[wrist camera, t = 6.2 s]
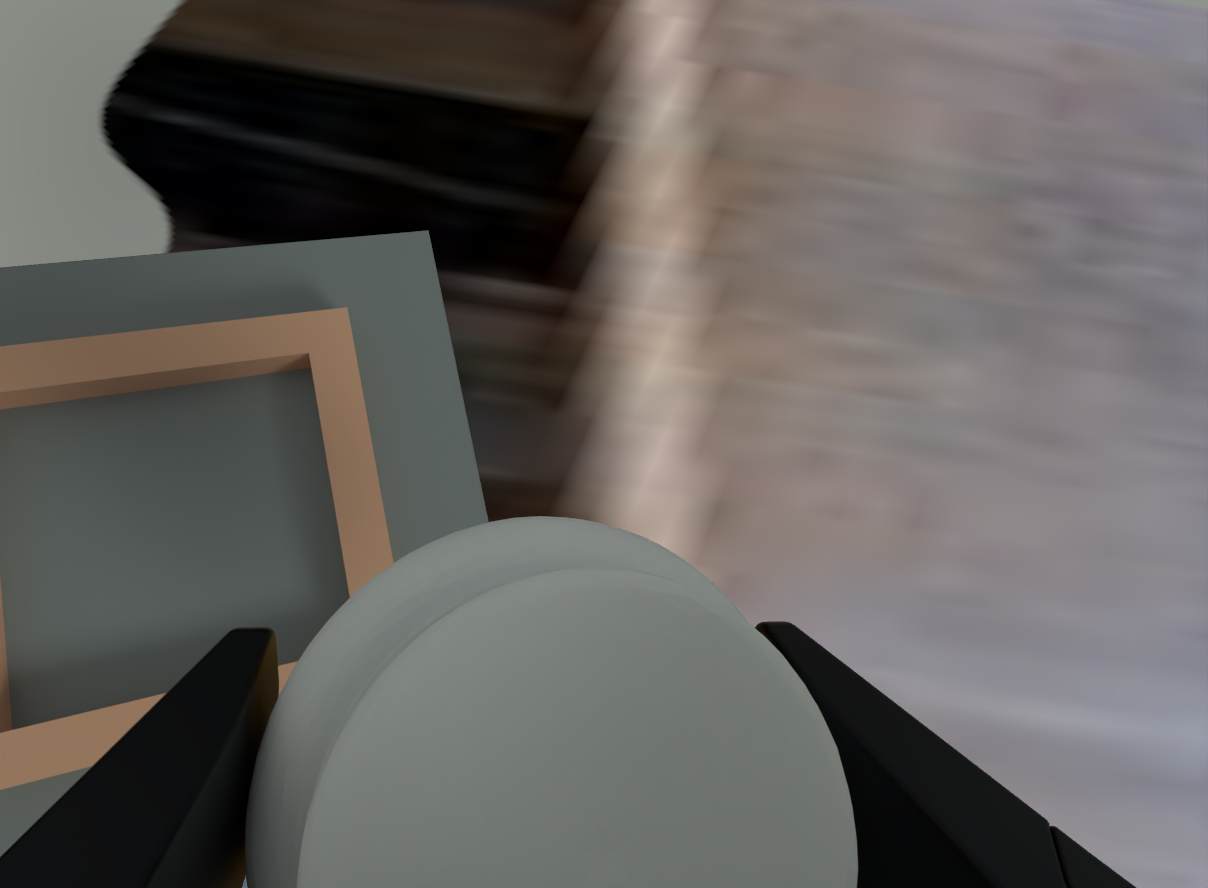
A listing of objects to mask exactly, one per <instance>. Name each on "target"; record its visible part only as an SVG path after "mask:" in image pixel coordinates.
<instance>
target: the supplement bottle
mask: <svg viewBox="0 0 1208 888" xmlns="http://www.w3.org/2000/svg"><path fill="white" fill-rule="evenodd" d="M245 861H246V880H247V887H248V888H857V877H858V855H857V837H856V830H855V823H854V815H853V808H852V803H851V798H850V793H849V788H848V785H847V781H846V778H845V774H844V770H843V767H842V763H841V759H840V756H839V752H838V749H837V746H836V744H835V742H834V739H833V737H832V735H831V733H830V731H829V728H828V726H827V724H826V722H825V720H824V718H823V716H822V714H821V712H820V710H819V708H818V706H817V704H816V703H815V701H814V700H813V698H812V696H811V694H810V693H809V691H808V689H807V688H806V686H805V684H804V683H803V682H802V680H801V679H800V678H799V676H798V675H797V673H796V672H795V671H794V669H793V668H792V667H791V665H790V664H789V663H788V661H787V660H786V659H785V657H784V656H783V655H782V654H781V653H780V652H779V651H778V650H777V649H776V647H775V646H774V645H773V644H772V643H771V642H770V641H769V640H768V639H767V638H766V637H765V636H764V635H762V634H761V633H760V632H759V631H758V630H756V629H755V628H754V627H753V626H752V625H750V624H749V623H748V621H747V620H746V619H745V618H744V616H743V615H742V614H741V613H740V611H739V610H738V609H737V608H736V606H735V605H734V604H733V603H732V602H731V601H730V599H729V598H728V597H727V596H726V595H725V594H724V593H723V592H722V591H721V590H720V589H719V588H718V587H717V586H716V585H715V584H714V583H713V582H711V581H710V580H709V579H708V578H707V577H706V576H704V575H703V574H702V573H701V572H700V571H698V570H697V569H696V568H695V567H694V566H692V565H691V564H689V563H688V562H686V561H685V560H683V559H682V558H680V557H679V556H677V555H676V554H674V553H673V552H671V551H669V550H668V549H666V548H664V547H662V546H661V545H659V544H657V543H655V542H652V541H650V540H648V539H646V538H644V537H642V536H640V535H637V534H634V533H631V532H628V531H626V530H623V529H620V528H616V527H613V526H610V525H606V524H602V523H597V522H592V521H587V520H582V519H574V518H566V517H544V516H537V517H520V518H511V519H505V520H499V521H493V522H488V523H484V524H480V525H476V526H473V527H470V528H466V529H463V530H460V531H457V532H454V533H451V534H449V535H447V536H444V537H442V538H440V539H437V540H435V541H433V542H430V543H428V544H426V545H424V546H422V547H420V548H418V549H416V550H414V551H412V552H410V553H408V554H407V555H405V556H404V557H402V558H401V559H399V560H398V561H396V562H395V563H393V564H392V565H390V566H389V567H387V568H386V569H384V570H383V571H381V572H380V573H379V574H377V575H376V576H375V577H373V578H372V579H371V580H370V581H368V582H367V583H366V584H365V585H363V586H362V587H361V588H360V589H358V590H357V591H356V592H355V593H354V594H353V595H352V596H351V597H350V598H349V599H348V600H347V601H346V602H345V603H344V604H343V605H342V606H341V607H340V608H339V609H338V610H337V612H336V613H335V614H334V615H333V616H332V617H331V618H330V619H329V620H328V621H327V622H326V623H325V625H324V626H323V627H322V629H321V630H320V631H319V632H318V634H317V635H316V636H315V637H314V639H313V640H312V641H311V643H310V644H309V645H308V647H307V648H306V650H305V651H304V653H303V655H302V656H301V658H300V659H299V661H298V662H297V664H296V665H295V667H294V668H293V670H292V671H291V673H290V675H289V677H288V679H287V681H286V683H285V685H284V687H283V689H282V691H281V693H280V695H279V697H278V700H277V702H276V704H275V706H274V708H273V711H272V713H271V715H270V717H269V720H268V723H267V726H266V729H265V732H264V735H263V738H262V741H261V744H260V747H259V750H258V753H257V757H256V762H255V767H254V771H253V776H252V781H251V785H250V790H249V797H248V805H247V814H246V831H245Z"/></svg>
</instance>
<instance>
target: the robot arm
mask: <svg viewBox="0 0 1208 888" xmlns="http://www.w3.org/2000/svg"><path fill="white" fill-rule="evenodd" d="M755 629H756V630H758V631H759V632H760V633H761V634H762V635H764V636H765V637H766V638H767V639H768V640H769V641H770V642H771V643H772V644H773V645H774V646H775V647H776V649H777V650H778V651H779V652H780V653H781V654H782V655H783V656H784V657H785V659H786V660H787V661H788V663H789V664H790V665H791V667H792V668H793V669H794V671H795V672H796V673H797V675H798V676H799V678H800V679H801V680H802V682H803V683H804V684H805V686H806V688H807V689H808V691H809V693H810V694H811V696H812V698H813V700H814V701H815V703H816V704H817V706H818V708H819V710H820V712H821V714H822V716H823V718H824V720H825V722H826V724H827V726H828V728H829V731H830V733H831V735H832V737H833V739H834V742H835V744H836V746H837V749H838V752H839V756H840V759H841V763H842V767H843V770H844V774H845V778H846V781H847V785H848V788H849V793H850V798H851V803H852V808H853V815H854V823H855V830H856V837H857V855H858V877H857V888H1136V887H1135V886H1133V885H1132V884H1131V883H1129V882H1128V881H1127V880H1125V879H1124V878H1123V877H1121V876H1120V875H1119V874H1117V873H1116V872H1115V871H1113V870H1112V869H1111V868H1109V867H1108V866H1107V865H1105V864H1104V863H1103V862H1101V861H1100V860H1099V859H1097V858H1096V857H1095V856H1093V855H1092V854H1091V853H1089V852H1088V851H1087V850H1085V849H1084V848H1083V847H1081V846H1080V845H1079V844H1078V843H1076V842H1075V841H1074V840H1072V839H1071V838H1070V837H1069V836H1067V835H1066V834H1065V833H1063V832H1062V831H1061V830H1059V829H1058V828H1057V827H1055V826H1050V825H1049V822H1048V821H1047V820H1046V819H1045V818H1044V817H1042V816H1041V815H1040V814H1038V813H1037V812H1036V811H1035V810H1033V809H1032V808H1031V807H1029V806H1028V805H1027V804H1025V803H1024V802H1023V801H1022V800H1020V799H1019V798H1018V797H1016V796H1015V795H1014V794H1013V793H1011V792H1010V791H1009V790H1007V789H1006V788H1005V787H1003V786H1002V785H1001V784H1000V783H998V782H997V781H996V780H994V779H993V778H992V777H990V776H989V775H988V774H987V773H985V772H984V771H983V770H981V769H980V768H979V767H978V766H976V765H975V764H974V763H972V762H971V761H970V760H968V759H967V758H966V757H965V756H963V755H962V754H961V753H959V752H958V751H957V750H955V749H954V748H953V747H952V746H950V745H949V744H948V743H946V742H945V741H944V740H943V739H941V738H940V737H939V736H937V735H936V734H935V733H933V732H932V731H931V730H930V729H928V728H927V727H926V726H924V725H923V724H922V723H921V722H919V721H918V720H917V719H915V718H914V717H913V716H911V715H910V714H909V713H908V712H906V711H905V710H904V709H902V708H901V707H900V706H898V705H897V704H896V703H895V702H893V701H892V700H891V699H889V698H888V697H887V696H886V695H884V694H883V693H882V692H880V691H879V690H878V689H876V688H875V687H874V686H873V685H871V684H870V683H869V682H867V681H866V680H865V679H863V678H862V677H861V676H860V675H858V674H857V673H856V672H854V671H853V670H852V669H851V668H849V667H848V666H847V665H845V664H844V663H843V662H841V661H840V660H839V659H838V658H836V657H835V656H834V655H832V654H831V653H830V652H829V651H827V650H826V649H825V648H823V647H822V646H821V645H819V644H818V643H817V642H816V641H814V640H813V639H812V638H810V637H809V636H808V635H806V634H805V633H804V632H803V631H801V630H800V629H799V628H797V627H796V626H795V625H793V624H792V623H789V622H761V623H759V624H758V625H757V626H756V627H755ZM278 696H279V673H278V658H277V643H276V635H275V632H274V630H273V629H271V628H269V627H240V628H234V629H232V630H231V631H229V632H228V633H227V634H226V635H225V636H224V637H223V638H222V639H221V640H220V641H219V642H218V643H217V644H216V645H215V646H214V647H213V648H212V649H211V650H210V651H209V652H208V653H207V654H205V655H204V656H203V657H202V658H201V659H200V660H199V661H198V662H197V663H196V664H195V665H194V666H193V667H192V668H191V669H190V670H189V671H188V672H187V673H186V674H185V675H184V676H183V677H182V678H181V679H180V680H179V681H178V682H177V683H176V684H175V685H174V686H173V687H172V688H171V689H170V690H169V691H168V692H167V693H166V694H165V695H164V696H163V697H162V698H161V699H160V700H159V701H158V702H157V703H156V704H155V705H154V706H153V707H152V708H151V709H150V710H149V711H148V712H147V713H146V714H145V715H144V716H143V717H142V718H141V719H140V720H139V721H138V722H137V723H135V724H134V725H133V726H132V727H131V728H130V729H129V730H128V731H127V732H126V733H125V734H124V735H123V736H122V737H121V738H120V739H119V740H118V741H117V742H116V743H115V744H114V745H113V746H112V747H111V748H110V749H109V750H108V751H107V752H106V753H105V754H104V755H103V756H102V757H101V758H100V759H99V760H98V761H97V762H96V763H95V764H94V765H93V766H92V767H91V768H90V769H89V770H88V771H87V772H86V773H85V774H84V775H83V776H82V777H81V778H80V779H79V780H78V781H77V782H76V783H75V784H74V785H73V786H72V787H71V788H70V789H69V790H68V791H66V792H65V793H64V794H63V795H62V796H61V797H60V798H59V799H58V800H57V801H56V802H55V803H54V804H53V805H52V806H51V807H50V808H49V809H48V810H47V811H46V812H45V813H44V814H43V815H42V816H41V817H40V818H39V819H38V820H37V821H36V822H35V823H34V824H33V825H32V826H31V827H30V828H29V829H28V830H27V831H26V832H25V833H24V834H23V835H22V836H21V837H20V838H19V839H18V840H17V841H16V842H15V843H14V844H13V845H12V846H11V847H10V848H9V849H8V850H7V851H6V852H5V853H4V854H3V855H2V856H1V857H0V888H242V886H243V882H244V879H245V875H246V861H245V831H246V814H247V805H248V797H249V790H250V785H251V781H252V776H253V771H254V767H255V762H256V757H257V753H258V750H259V747H260V744H261V741H262V738H263V735H264V732H265V729H266V726H267V723H268V720H269V717H270V715H271V713H272V711H273V708H274V706H275V704H276V702H277V700H278Z"/></svg>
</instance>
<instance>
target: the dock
mask: <svg viewBox="0 0 1208 888" xmlns="http://www.w3.org/2000/svg"><path fill="white" fill-rule="evenodd" d="M484 523H488V517H487V513H486V508H485V503H484V498H483V493H482V488H481V483H480V479H479V474H478V469H477V464H476V459H475V454H474V450H473V445H472V440H471V435H470V430H469V425H468V420H467V416H466V411H465V406H464V401H463V396H462V391H461V387H460V382H459V377H458V372H457V367H456V362H455V357H454V353H453V348H452V343H451V338H450V333H449V328H448V324H447V319H446V314H445V309H444V304H443V299H442V294H441V290H440V285H439V280H438V275H437V270H436V265H435V261H434V256H433V251H432V246H431V241H430V236H429V231H418V232H406V233H395V234H383V235H372V236H360V237H349V238H337V239H326V240H314V241H303V242H291V243H280V244H268V245H256V246H245V247H233V248H222V249H210V250H199V251H187V252H176V253H164V254H153V255H142V256H130V257H119V258H108V259H95V260H83V261H73V262H60V263H49V264H38V265H26V266H15V267H3V268H0V857H1V856H2V855H3V854H4V853H5V852H6V851H7V850H8V849H9V848H10V847H11V846H12V845H13V844H14V843H15V842H16V841H17V840H18V839H19V838H20V837H21V836H22V835H23V834H24V833H25V832H26V831H27V830H28V829H29V828H30V827H31V826H32V825H33V824H34V823H35V822H36V821H37V820H38V819H39V818H40V817H41V816H42V815H43V814H44V813H45V812H46V811H47V810H48V809H49V808H50V807H51V806H52V805H53V804H54V803H55V802H56V801H57V800H58V799H59V798H60V797H61V796H62V795H63V794H64V793H65V792H66V791H68V790H69V789H70V788H71V787H72V786H73V785H74V784H75V783H76V782H77V781H78V780H79V779H80V778H81V777H82V776H83V775H84V774H85V773H86V772H87V771H88V770H89V769H90V768H91V767H92V766H93V765H94V764H95V763H96V762H97V761H98V760H99V759H100V758H101V757H102V756H103V755H104V754H105V753H106V752H107V751H108V750H109V749H110V748H111V747H112V746H113V745H114V744H115V743H116V742H117V741H118V740H119V739H120V738H121V737H122V736H123V735H124V734H125V733H126V732H127V731H128V730H129V729H130V728H131V727H132V726H133V725H134V724H135V723H137V722H138V721H139V720H140V719H141V718H142V717H143V716H144V715H145V714H146V713H147V712H148V711H149V710H150V709H151V708H152V707H153V706H154V705H155V704H156V703H157V702H158V701H159V700H160V699H161V698H162V697H163V696H164V695H165V694H166V693H167V692H168V691H169V690H170V689H171V688H172V687H173V686H174V685H175V684H176V683H177V682H178V681H179V680H180V679H181V678H182V677H183V676H184V675H185V674H186V673H187V672H188V671H189V670H190V669H191V668H192V667H193V666H194V665H195V664H196V663H197V662H198V661H199V660H200V659H201V658H202V657H203V656H204V655H205V654H207V653H208V652H209V651H210V650H211V649H212V648H213V647H214V646H215V645H216V644H217V643H218V642H219V641H220V640H221V639H222V638H223V637H224V636H225V635H226V634H227V633H228V632H229V631H231V630H232V629H234V628H240V627H269V628H271V629H273V630H274V632H275V635H276V643H277V658H278V673H279V695H280V693H281V691H282V689H283V687H284V685H285V683H286V681H287V679H288V677H289V675H290V673H291V671H292V670H293V668H294V667H295V665H296V664H297V662H298V661H299V659H300V658H301V656H302V655H303V653H304V651H305V650H306V648H307V647H308V645H309V644H310V643H311V641H312V640H313V639H314V637H315V636H316V635H317V634H318V632H319V631H320V630H321V629H322V627H323V626H324V625H325V623H326V622H327V621H328V620H329V619H330V618H331V617H332V616H333V615H334V614H335V613H336V612H337V610H338V609H339V608H340V607H341V606H342V605H343V604H344V603H345V602H346V601H347V600H348V599H349V598H350V597H351V596H352V595H353V594H354V593H355V592H356V591H357V590H358V589H360V588H361V587H362V586H363V585H365V584H366V583H367V582H368V581H370V580H371V579H372V578H373V577H375V576H376V575H377V574H379V573H380V572H381V571H383V570H384V569H386V568H387V567H389V566H390V565H392V564H393V563H395V562H396V561H398V560H399V559H401V558H402V557H404V556H405V555H407V554H408V553H410V552H412V551H414V550H416V549H418V548H420V547H422V546H424V545H426V544H428V543H430V542H433V541H435V540H437V539H440V538H442V537H444V536H447V535H449V534H451V533H454V532H457V531H460V530H463V529H466V528H470V527H473V526H476V525H480V524H484ZM278 697H279V696H278Z"/></svg>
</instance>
